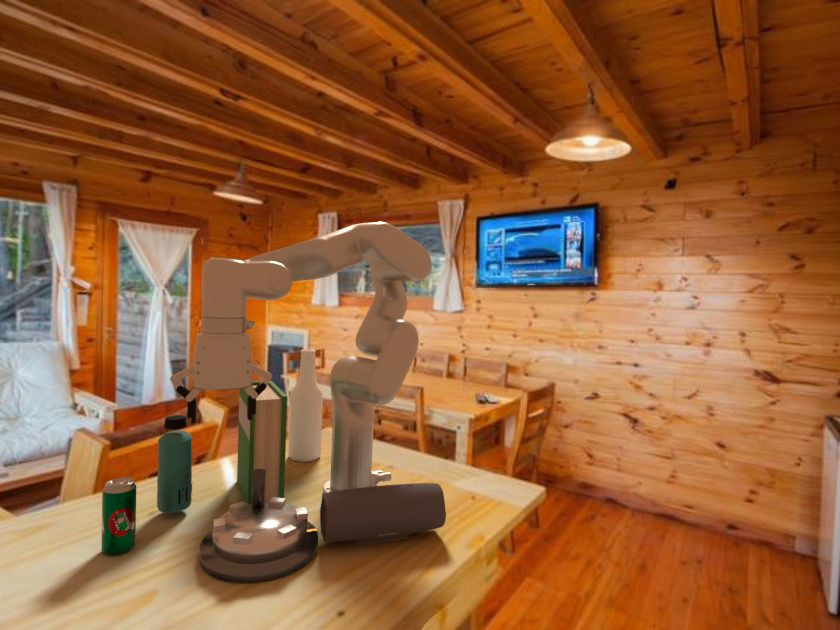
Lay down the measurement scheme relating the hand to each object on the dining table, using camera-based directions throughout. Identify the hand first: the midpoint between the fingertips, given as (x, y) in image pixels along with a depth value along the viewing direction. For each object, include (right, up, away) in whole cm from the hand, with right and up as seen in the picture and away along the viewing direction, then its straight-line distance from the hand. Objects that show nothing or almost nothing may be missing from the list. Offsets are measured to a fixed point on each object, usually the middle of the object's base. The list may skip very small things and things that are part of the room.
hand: (222, 420), depth 90 cm
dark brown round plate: (+8, -23, -2) cm, 24 cm away
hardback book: (0, -21, +21) cm, 30 cm away
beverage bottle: (-14, -21, +10) cm, 27 cm away
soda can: (-16, -22, -4) cm, 28 cm away
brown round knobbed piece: (+8, -21, -2) cm, 22 cm away
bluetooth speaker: (+29, -24, +4) cm, 38 cm away
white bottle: (+4, -20, +46) cm, 51 cm away
